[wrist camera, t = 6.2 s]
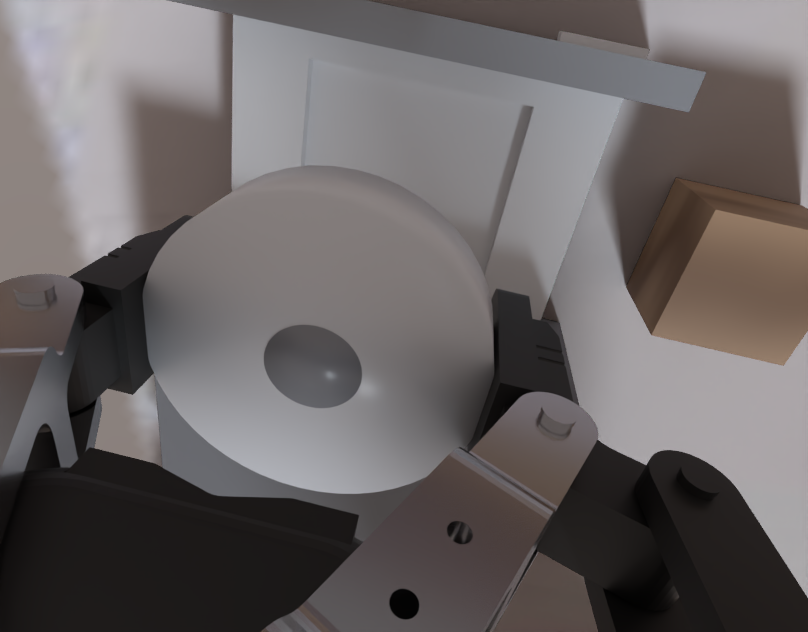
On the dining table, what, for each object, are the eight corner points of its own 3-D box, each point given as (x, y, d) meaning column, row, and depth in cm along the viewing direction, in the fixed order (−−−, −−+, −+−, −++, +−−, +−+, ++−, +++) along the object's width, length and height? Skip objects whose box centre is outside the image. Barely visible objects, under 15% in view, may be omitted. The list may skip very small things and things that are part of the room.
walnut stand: (737, 312, 22) (783, 365, 18) (625, 286, 22) (651, 335, 19) (801, 205, 19) (868, 243, 16) (675, 177, 20) (715, 209, 16)
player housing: (471, 545, 32) (467, 646, 26) (222, 483, 32) (171, 570, 27) (559, 322, 23) (579, 406, 18) (222, 244, 24) (148, 304, 19)
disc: (537, 210, 9) (546, 245, 7) (451, 466, 12) (447, 524, 11) (180, 128, 9) (122, 148, 8) (191, 403, 12) (152, 452, 11)
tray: (518, 410, 26) (523, 487, 21) (227, 340, 26) (175, 402, 22) (656, 53, 17) (710, 61, 13) (229, -37, 18) (147, -58, 14)
